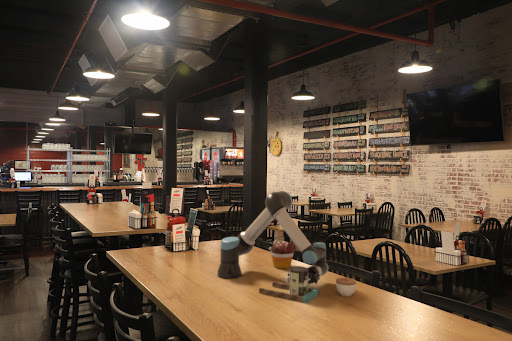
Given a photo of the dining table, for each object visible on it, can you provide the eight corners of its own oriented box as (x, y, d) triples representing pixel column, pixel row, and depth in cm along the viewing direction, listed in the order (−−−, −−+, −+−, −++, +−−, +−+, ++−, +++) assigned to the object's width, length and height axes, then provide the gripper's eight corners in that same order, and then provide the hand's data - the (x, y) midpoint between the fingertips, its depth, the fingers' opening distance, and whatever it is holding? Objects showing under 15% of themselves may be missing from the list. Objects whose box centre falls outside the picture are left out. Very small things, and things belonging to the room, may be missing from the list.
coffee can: (309, 292, 214) (309, 267, 214) (307, 299, 204) (308, 271, 204) (290, 291, 216) (290, 265, 216) (287, 297, 206) (288, 270, 206)
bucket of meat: (264, 265, 274) (264, 237, 274) (280, 262, 285) (281, 234, 285) (284, 271, 259) (285, 241, 259) (301, 267, 270) (301, 238, 270)
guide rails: (259, 293, 214) (259, 288, 214) (273, 285, 227) (273, 281, 227) (306, 303, 199) (306, 298, 199) (318, 294, 212) (318, 290, 212)
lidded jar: (341, 298, 207) (341, 280, 207) (332, 292, 217) (332, 275, 217) (359, 296, 210) (360, 279, 210) (349, 290, 220) (350, 274, 220)
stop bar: (302, 302, 200) (302, 296, 200) (315, 294, 214) (315, 288, 213) (306, 303, 199) (306, 297, 199) (318, 294, 212) (318, 289, 212)
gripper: (331, 282, 219) (315, 293, 200) (295, 276, 231) (276, 285, 212) (331, 269, 219) (315, 278, 200) (295, 263, 231) (276, 271, 212)
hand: (295, 282), depth 206 cm, fingers closed on coffee can, 10 cm apart
